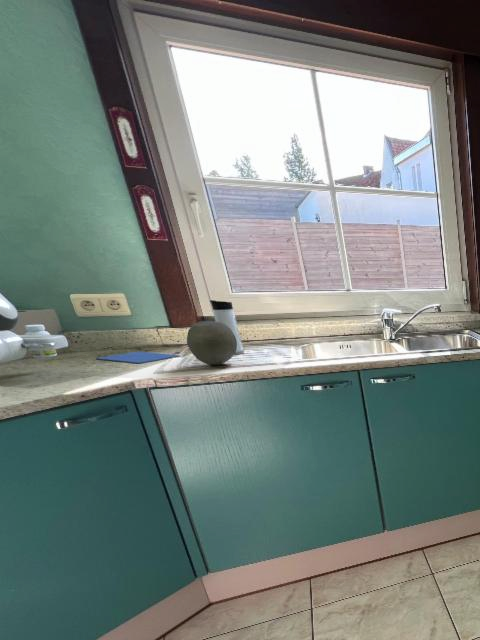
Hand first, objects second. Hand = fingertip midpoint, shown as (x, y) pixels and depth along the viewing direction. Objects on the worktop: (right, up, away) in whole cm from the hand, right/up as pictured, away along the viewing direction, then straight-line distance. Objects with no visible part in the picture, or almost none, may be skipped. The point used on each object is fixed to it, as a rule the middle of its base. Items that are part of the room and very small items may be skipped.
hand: (41, 338), depth 153 cm
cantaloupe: (+42, -6, +18) cm, 46 cm away
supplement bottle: (0, -6, +1) cm, 6 cm away
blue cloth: (+8, -2, +24) cm, 26 cm away
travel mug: (+34, +2, +36) cm, 49 cm away
